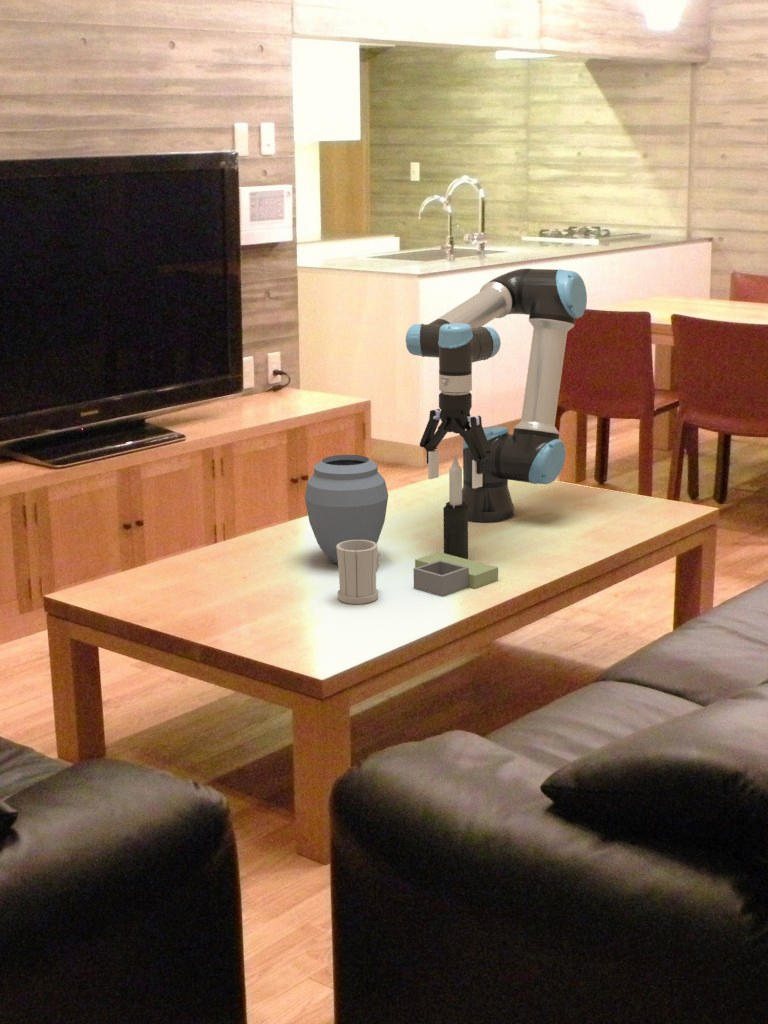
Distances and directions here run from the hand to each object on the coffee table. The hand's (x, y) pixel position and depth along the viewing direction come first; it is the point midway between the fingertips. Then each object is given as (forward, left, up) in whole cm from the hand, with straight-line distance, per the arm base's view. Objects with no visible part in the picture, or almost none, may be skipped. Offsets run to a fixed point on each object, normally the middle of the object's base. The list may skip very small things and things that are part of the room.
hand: (455, 482), depth 321 cm
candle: (0, 0, -19) cm, 19 cm away
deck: (+9, -14, -19) cm, 25 cm away
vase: (-18, -18, -19) cm, 31 cm away
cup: (+3, -35, -19) cm, 40 cm away
